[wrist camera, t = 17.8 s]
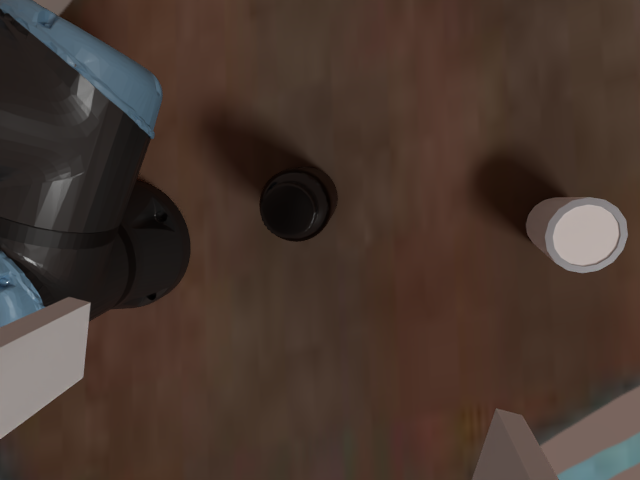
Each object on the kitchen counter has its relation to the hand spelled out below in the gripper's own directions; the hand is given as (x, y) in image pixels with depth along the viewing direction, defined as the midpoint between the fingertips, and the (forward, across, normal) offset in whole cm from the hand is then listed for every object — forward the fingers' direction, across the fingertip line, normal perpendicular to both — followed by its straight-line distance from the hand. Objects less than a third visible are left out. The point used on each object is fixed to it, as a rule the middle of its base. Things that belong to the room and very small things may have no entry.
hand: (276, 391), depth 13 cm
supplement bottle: (+35, +5, -2) cm, 35 cm away
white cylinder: (+35, -21, -5) cm, 41 cm away
